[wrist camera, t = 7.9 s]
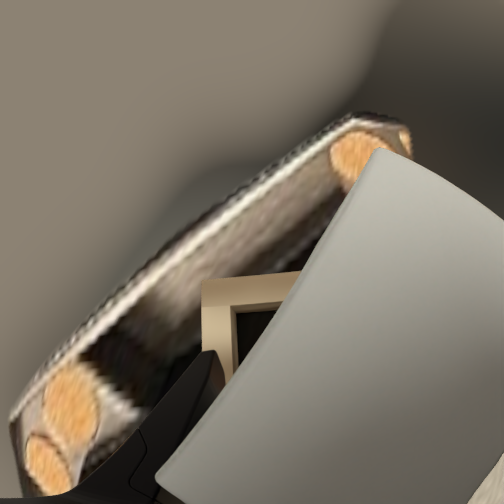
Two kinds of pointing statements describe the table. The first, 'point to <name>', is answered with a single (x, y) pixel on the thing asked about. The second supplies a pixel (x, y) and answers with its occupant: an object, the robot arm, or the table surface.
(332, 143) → the table surface
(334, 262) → the skincare box
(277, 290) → the wooden picture frame
